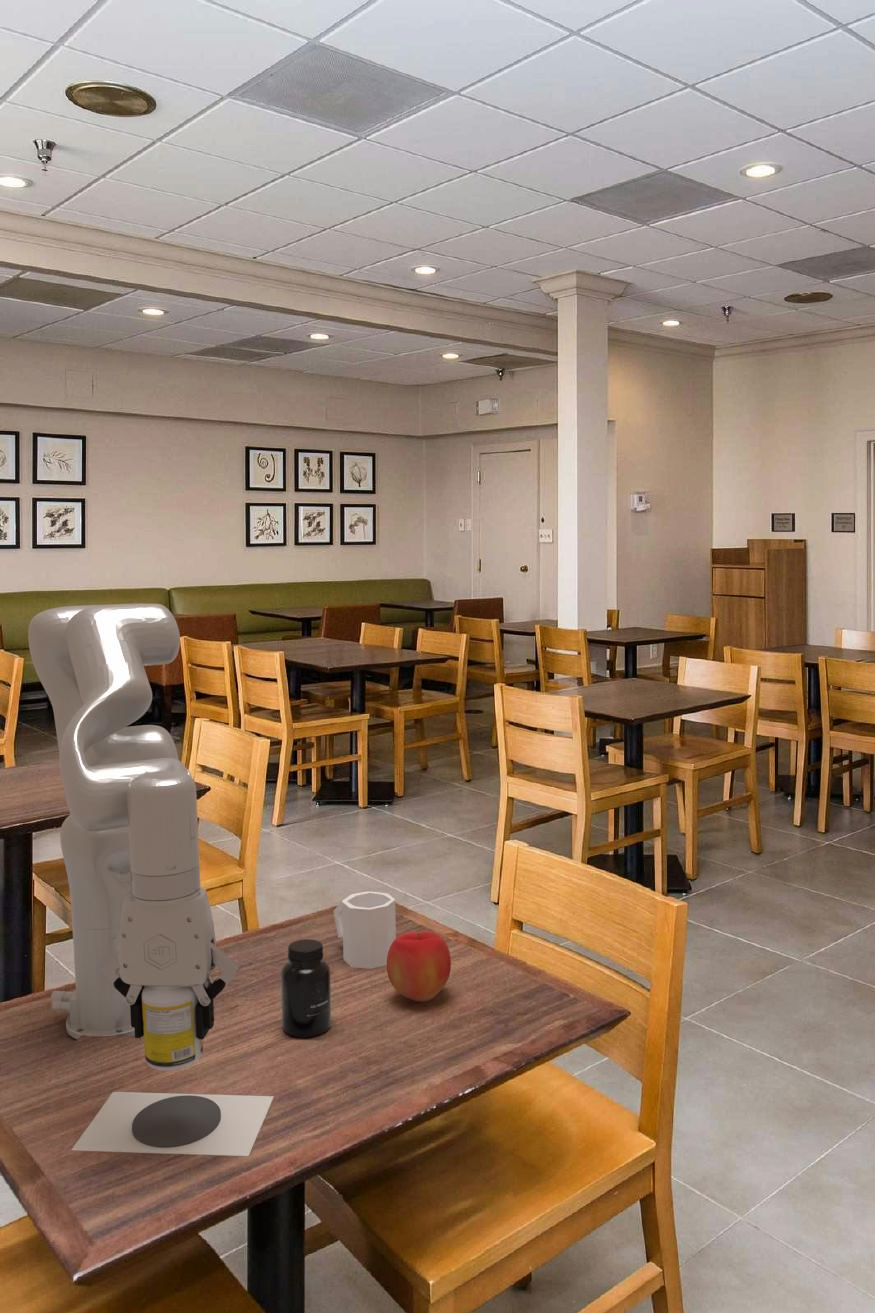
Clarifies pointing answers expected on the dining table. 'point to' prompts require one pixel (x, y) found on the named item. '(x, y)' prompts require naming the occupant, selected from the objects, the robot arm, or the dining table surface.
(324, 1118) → the dining table surface
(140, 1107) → the board
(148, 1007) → the pill bottle
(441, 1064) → the dining table surface
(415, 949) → the apple
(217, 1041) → the dining table surface
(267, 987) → the dining table surface
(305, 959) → the supplement bottle
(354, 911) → the mug
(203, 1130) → the pad
